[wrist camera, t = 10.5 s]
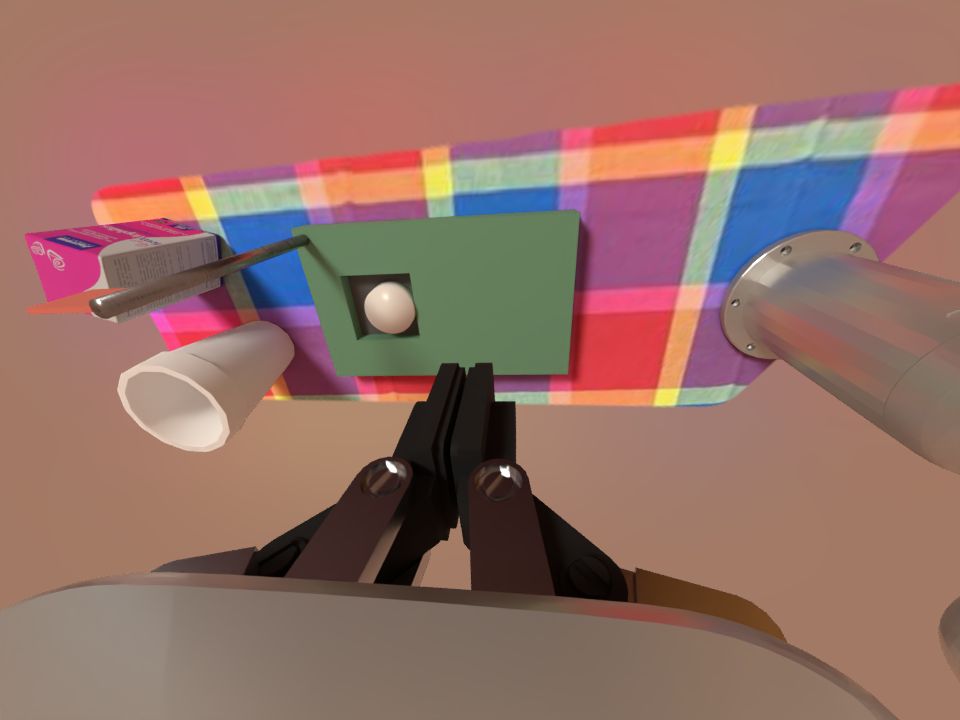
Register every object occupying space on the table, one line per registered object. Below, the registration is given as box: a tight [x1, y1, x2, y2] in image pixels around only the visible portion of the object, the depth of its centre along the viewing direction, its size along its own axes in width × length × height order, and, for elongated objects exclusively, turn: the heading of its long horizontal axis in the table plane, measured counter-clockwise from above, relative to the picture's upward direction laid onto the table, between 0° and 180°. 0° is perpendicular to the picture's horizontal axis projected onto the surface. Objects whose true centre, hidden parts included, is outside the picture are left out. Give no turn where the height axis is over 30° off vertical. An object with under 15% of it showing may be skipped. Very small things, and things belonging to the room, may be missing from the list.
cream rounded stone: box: [364, 281, 416, 334], centre depth 35 cm, size 5×5×2 cm
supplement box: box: [25, 218, 224, 323], centre depth 31 cm, size 6×6×12 cm
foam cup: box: [117, 321, 295, 452], centre depth 35 cm, size 10×9×13 cm
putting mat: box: [26, 209, 580, 376], centre depth 27 cm, size 29×16×20 cm, turn 93°
